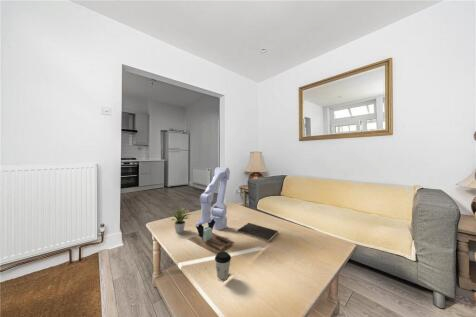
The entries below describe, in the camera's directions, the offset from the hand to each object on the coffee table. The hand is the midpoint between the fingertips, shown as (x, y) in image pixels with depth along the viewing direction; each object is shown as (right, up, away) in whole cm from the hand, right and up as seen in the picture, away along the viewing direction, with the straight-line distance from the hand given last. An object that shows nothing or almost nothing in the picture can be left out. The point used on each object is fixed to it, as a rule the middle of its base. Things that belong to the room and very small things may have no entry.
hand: (205, 234), depth 105 cm
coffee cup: (+13, -4, -32) cm, 35 cm away
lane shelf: (+4, -4, -3) cm, 6 cm away
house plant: (-20, -3, +9) cm, 22 cm away
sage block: (0, -2, 0) cm, 2 cm away
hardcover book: (+34, -5, +12) cm, 36 cm away
